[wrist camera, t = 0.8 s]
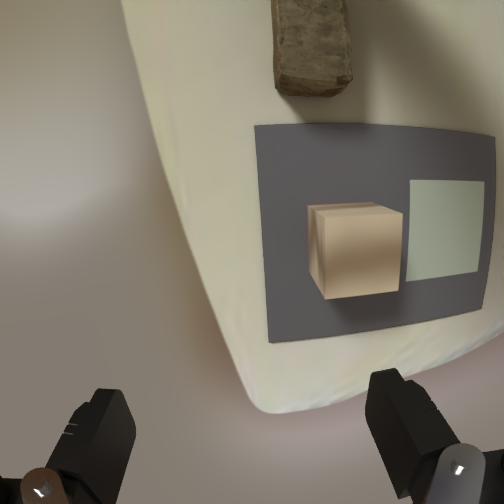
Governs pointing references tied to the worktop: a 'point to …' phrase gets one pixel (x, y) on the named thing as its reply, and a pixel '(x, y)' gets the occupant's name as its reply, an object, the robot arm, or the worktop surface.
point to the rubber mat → (385, 194)
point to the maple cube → (354, 248)
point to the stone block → (311, 47)
